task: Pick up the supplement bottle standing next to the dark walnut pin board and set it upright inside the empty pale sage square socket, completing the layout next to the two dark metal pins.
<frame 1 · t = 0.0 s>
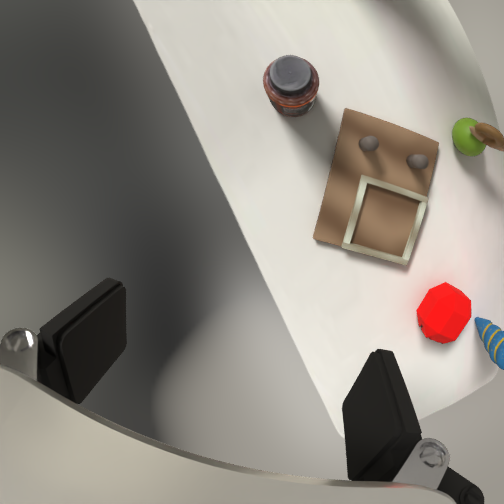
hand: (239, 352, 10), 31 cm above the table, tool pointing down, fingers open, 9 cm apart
ornament: (476, 317, 40), on the table
supplement bottle: (292, 96, 35), on the table
pin board: (378, 187, 36), on the table
snail figurine: (462, 139, 32), on the table
ball: (435, 301, 40), on the table
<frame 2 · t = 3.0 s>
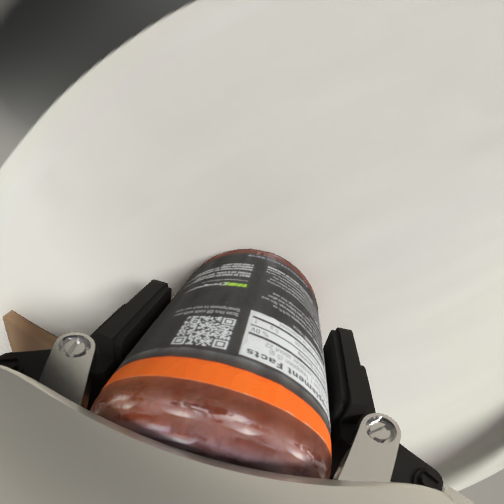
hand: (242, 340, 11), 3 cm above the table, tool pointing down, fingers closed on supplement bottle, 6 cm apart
supplement bottle: (252, 305, 13), on the table, touching gripper
pin board: (107, 417, 18), on the table
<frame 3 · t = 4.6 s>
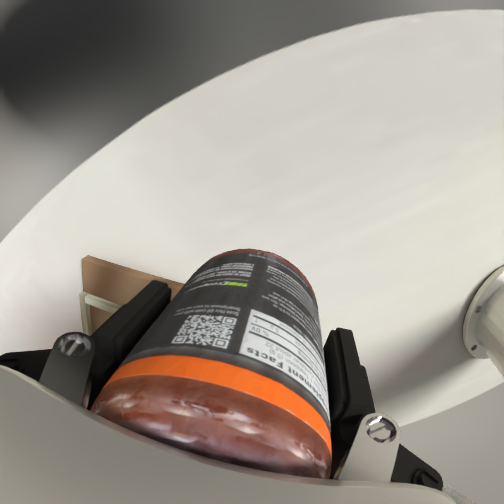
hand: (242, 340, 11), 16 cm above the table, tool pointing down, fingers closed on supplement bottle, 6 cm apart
supplement bottle: (252, 305, 13), point 13 cm above the table, touching gripper
pin board: (155, 332, 31), on the table
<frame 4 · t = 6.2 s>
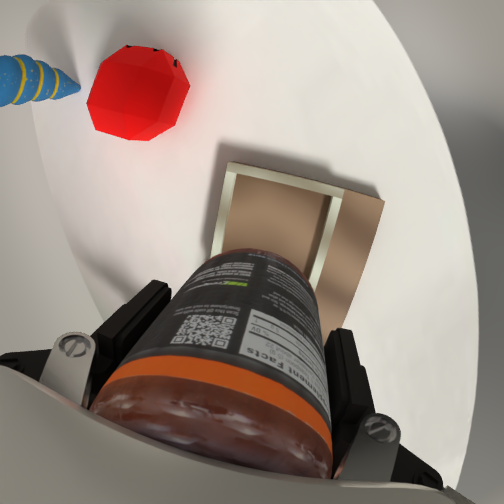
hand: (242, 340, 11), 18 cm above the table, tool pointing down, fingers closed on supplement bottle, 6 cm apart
ornament: (79, 90, 25), on the table
supplement bottle: (252, 305, 13), point 15 cm above the table, touching gripper
pin board: (285, 270, 28), on the table
ball: (156, 99, 25), on the table
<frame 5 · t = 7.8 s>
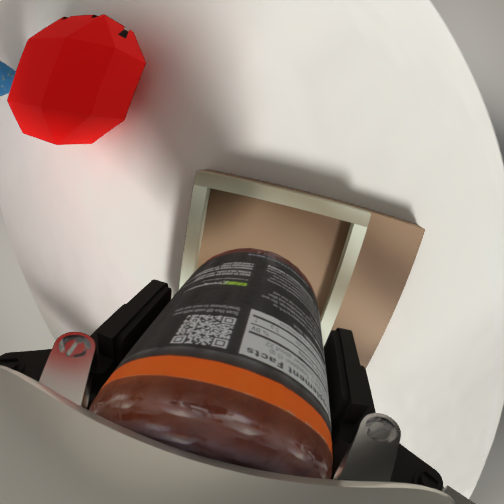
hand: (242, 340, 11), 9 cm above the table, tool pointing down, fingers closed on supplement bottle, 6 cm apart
ornament: (27, 84, 17), on the table
supplement bottle: (252, 304, 13), point 6 cm above the table, touching gripper
pin board: (281, 321, 20), on the table
ball: (108, 87, 17), on the table
when the fingers open (5 cm above the table, at t = 9.1 s): supplement bottle stays where it is, resting on pin board.
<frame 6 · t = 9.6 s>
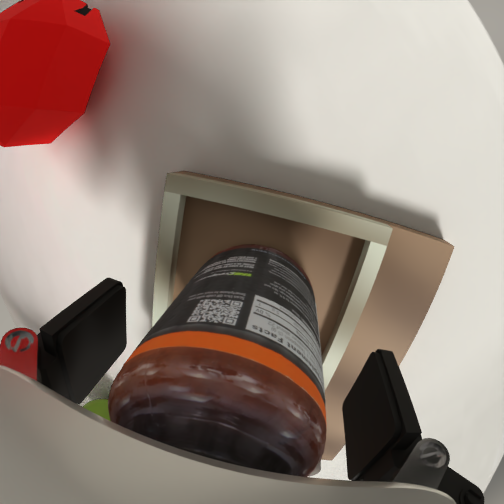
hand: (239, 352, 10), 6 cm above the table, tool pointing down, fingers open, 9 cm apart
supplement bottle: (255, 297, 14), point 1 cm above the table, touching pin board
pin board: (277, 353, 17), on the table
snail figurine: (116, 404, 21), on the table
ball: (74, 77, 13), on the table
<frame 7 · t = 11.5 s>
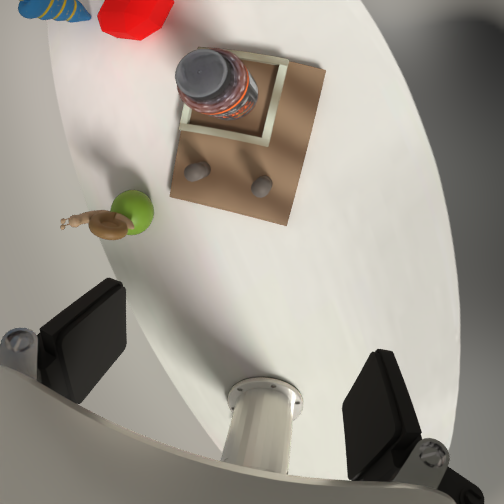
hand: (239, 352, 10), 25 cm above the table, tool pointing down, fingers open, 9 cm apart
ornament: (90, 19, 27), on the table
supplement bottle: (232, 95, 28), point 1 cm above the table, touching pin board
pin board: (244, 132, 31), on the table
snail figurine: (140, 205, 36), on the table
ball: (149, 17, 27), on the table
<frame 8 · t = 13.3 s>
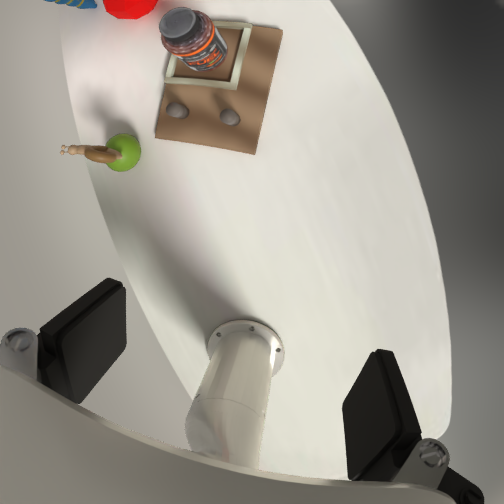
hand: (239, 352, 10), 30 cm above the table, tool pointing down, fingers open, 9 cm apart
ornament: (95, 8, 31), on the table
supplement bottle: (207, 54, 32), point 1 cm above the table, touching pin board
pin board: (218, 82, 34), on the table
snail figurine: (129, 151, 39), on the table
ball: (144, 3, 31), on the table
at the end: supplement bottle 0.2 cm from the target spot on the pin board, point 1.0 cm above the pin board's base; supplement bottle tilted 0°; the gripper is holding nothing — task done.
